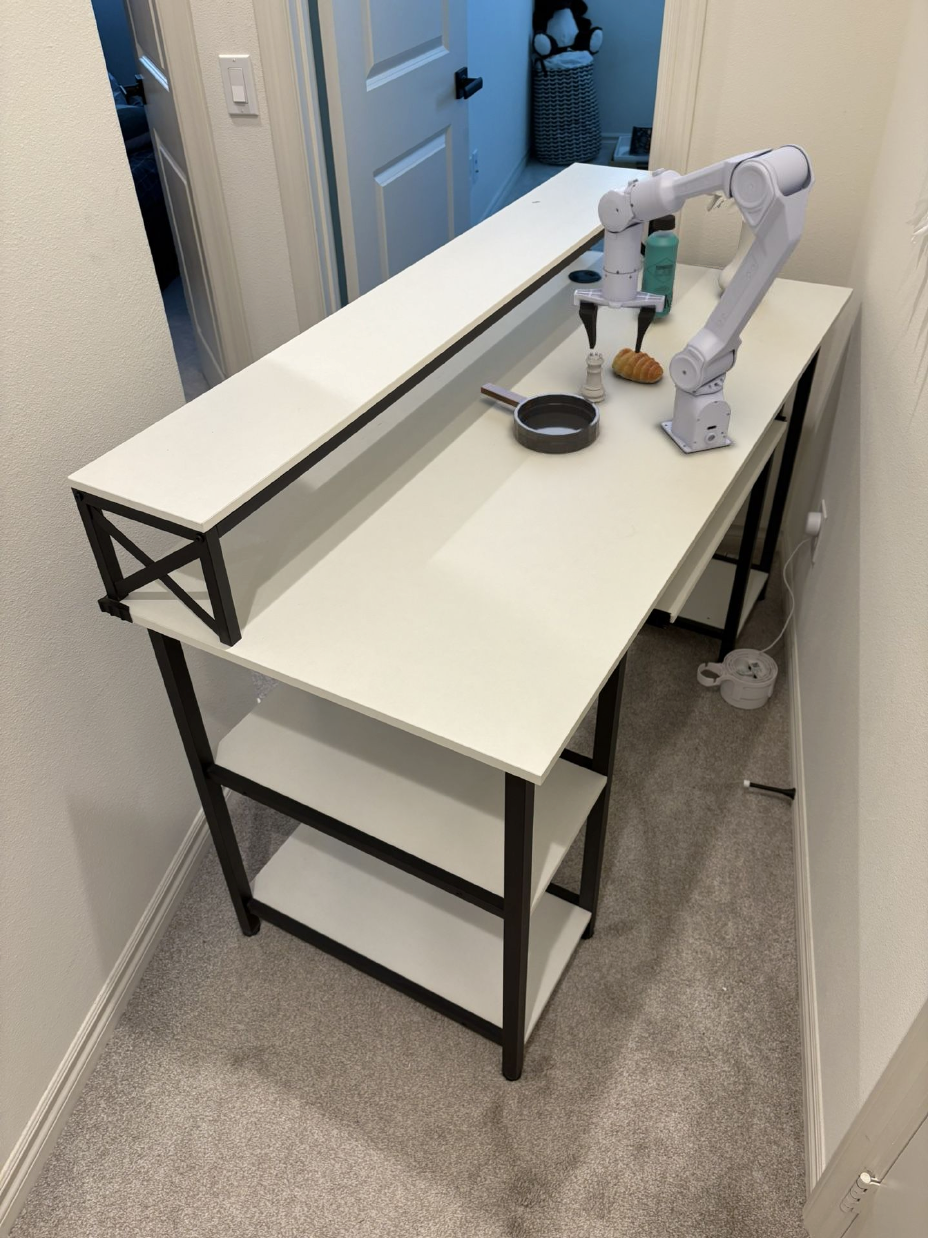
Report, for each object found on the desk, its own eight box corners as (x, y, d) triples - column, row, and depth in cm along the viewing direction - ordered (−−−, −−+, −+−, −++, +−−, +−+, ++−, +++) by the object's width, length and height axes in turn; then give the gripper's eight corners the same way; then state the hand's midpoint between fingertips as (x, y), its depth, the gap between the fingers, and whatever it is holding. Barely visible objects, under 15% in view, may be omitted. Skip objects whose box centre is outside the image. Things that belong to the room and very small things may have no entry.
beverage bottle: (631, 316, 182) (640, 213, 169) (659, 309, 184) (669, 207, 171) (649, 327, 178) (659, 223, 164) (677, 320, 179) (689, 216, 166)
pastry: (671, 375, 162) (673, 356, 159) (648, 389, 158) (650, 369, 156) (629, 360, 167) (631, 341, 164) (606, 374, 164) (608, 354, 161)
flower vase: (703, 278, 195) (719, 154, 178) (787, 292, 187) (813, 163, 170) (681, 300, 187) (696, 171, 170) (768, 315, 179) (793, 182, 162)
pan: (611, 445, 145) (612, 425, 143) (529, 460, 143) (529, 441, 140) (580, 406, 155) (581, 387, 153) (503, 419, 153) (503, 400, 150)
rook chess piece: (585, 405, 155) (587, 362, 150) (576, 394, 158) (577, 351, 153) (609, 401, 156) (612, 358, 151) (599, 390, 159) (602, 347, 154)
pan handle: (531, 406, 151) (531, 399, 151) (523, 410, 150) (523, 404, 150) (489, 388, 157) (489, 382, 156) (480, 392, 156) (480, 386, 155)
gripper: (570, 273, 140) (567, 354, 149) (663, 279, 137) (654, 362, 146) (579, 257, 145) (576, 337, 154) (669, 263, 141) (661, 344, 151)
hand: (615, 348), depth 150 cm, fingers open, 7 cm apart
